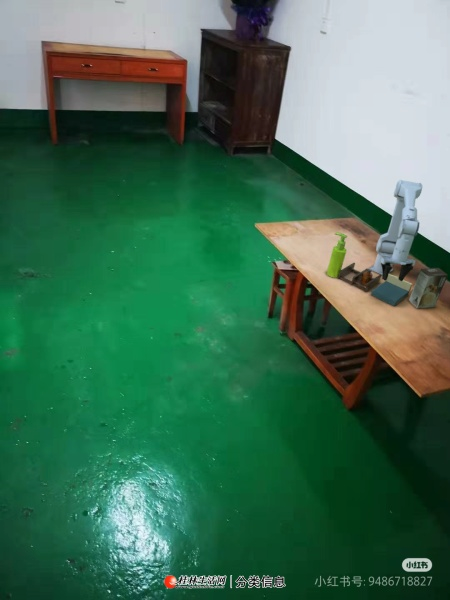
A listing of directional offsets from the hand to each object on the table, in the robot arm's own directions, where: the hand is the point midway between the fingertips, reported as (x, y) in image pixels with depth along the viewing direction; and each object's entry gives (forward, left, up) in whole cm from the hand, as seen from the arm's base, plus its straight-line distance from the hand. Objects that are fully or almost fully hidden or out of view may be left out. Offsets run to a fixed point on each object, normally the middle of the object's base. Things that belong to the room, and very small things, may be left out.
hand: (392, 279), depth 190 cm
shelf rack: (-6, -16, -10) cm, 20 cm away
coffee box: (-11, +12, -11) cm, 19 cm away
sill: (-6, -1, -10) cm, 12 cm away
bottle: (-6, -13, -10) cm, 18 cm away
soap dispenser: (-1, -27, -11) cm, 29 cm away
